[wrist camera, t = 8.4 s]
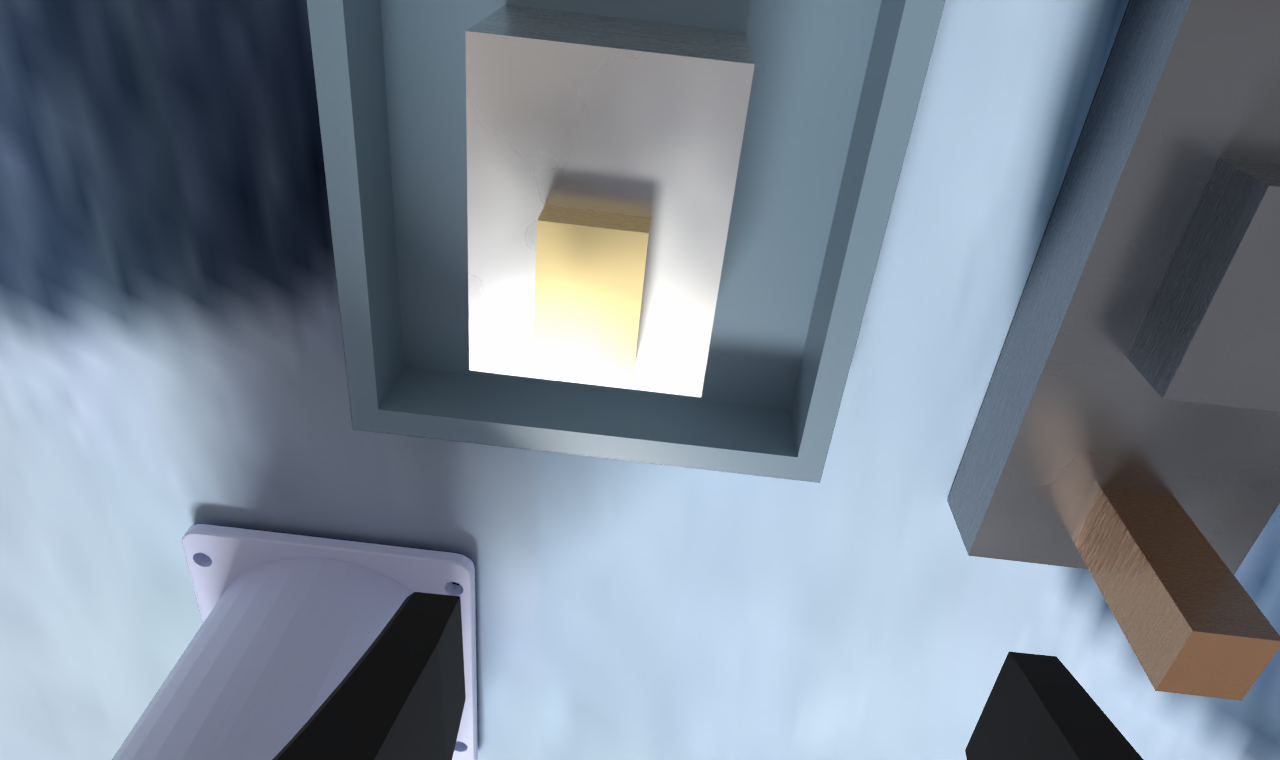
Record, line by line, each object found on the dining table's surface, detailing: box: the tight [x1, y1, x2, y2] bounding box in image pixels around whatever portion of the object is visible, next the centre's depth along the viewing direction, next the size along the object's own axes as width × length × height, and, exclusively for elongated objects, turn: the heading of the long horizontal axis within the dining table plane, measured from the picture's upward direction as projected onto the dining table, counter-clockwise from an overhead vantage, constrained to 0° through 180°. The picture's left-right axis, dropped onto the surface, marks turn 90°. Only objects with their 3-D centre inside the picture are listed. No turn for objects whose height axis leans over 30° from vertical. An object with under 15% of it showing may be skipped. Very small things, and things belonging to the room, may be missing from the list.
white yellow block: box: [465, 5, 755, 397], centre depth 15 cm, size 6×4×4 cm
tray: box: [307, 0, 945, 483], centre depth 16 cm, size 11×10×2 cm
